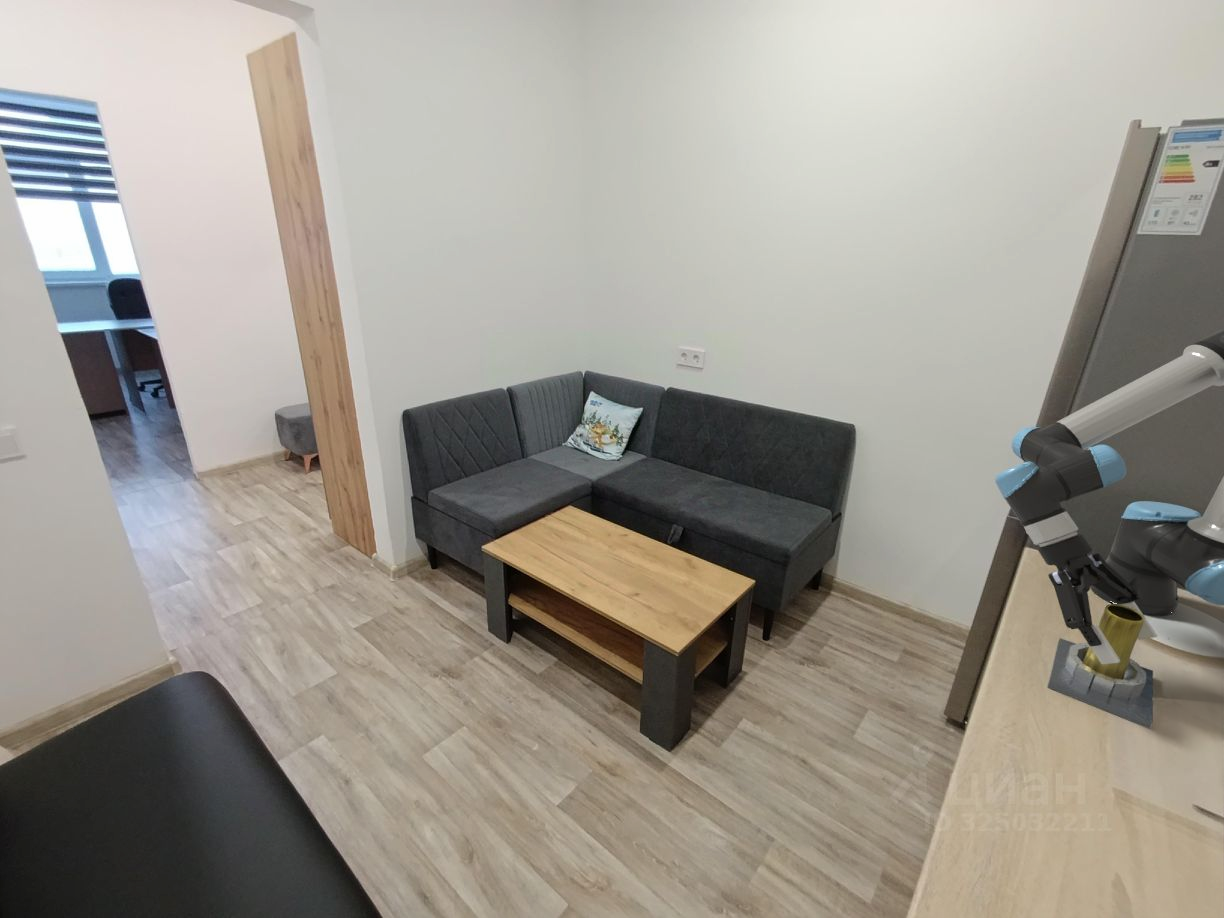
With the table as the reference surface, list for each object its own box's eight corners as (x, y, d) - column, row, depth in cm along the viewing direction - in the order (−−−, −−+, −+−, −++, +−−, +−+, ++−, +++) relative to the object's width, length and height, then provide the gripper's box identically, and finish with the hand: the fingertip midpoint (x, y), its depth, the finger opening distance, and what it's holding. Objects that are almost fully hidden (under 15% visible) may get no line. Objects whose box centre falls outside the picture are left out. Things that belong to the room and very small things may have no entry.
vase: (1130, 689, 99) (1157, 625, 94) (1092, 685, 100) (1117, 621, 95) (1107, 665, 104) (1132, 603, 99) (1072, 662, 105) (1094, 600, 100)
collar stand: (1057, 643, 112) (1063, 625, 111) (1150, 676, 104) (1158, 658, 102) (1047, 687, 102) (1053, 668, 100) (1149, 728, 93) (1158, 708, 91)
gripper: (1072, 530, 113) (1139, 631, 106) (1001, 562, 102) (1071, 676, 95) (1111, 518, 106) (1186, 624, 99) (1040, 550, 96) (1118, 671, 89)
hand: (1130, 650), depth 97 cm, fingers open, 13 cm apart
